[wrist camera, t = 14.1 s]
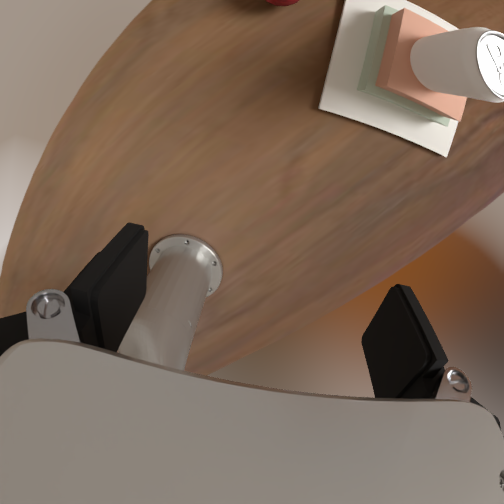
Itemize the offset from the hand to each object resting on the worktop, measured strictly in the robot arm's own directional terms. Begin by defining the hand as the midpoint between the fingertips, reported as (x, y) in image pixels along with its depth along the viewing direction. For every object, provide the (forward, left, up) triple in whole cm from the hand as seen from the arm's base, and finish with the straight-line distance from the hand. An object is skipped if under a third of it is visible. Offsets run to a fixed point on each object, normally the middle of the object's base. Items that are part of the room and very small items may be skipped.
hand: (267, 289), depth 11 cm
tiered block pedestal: (+15, -14, -31) cm, 38 cm away
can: (+15, -14, -22) cm, 31 cm away
